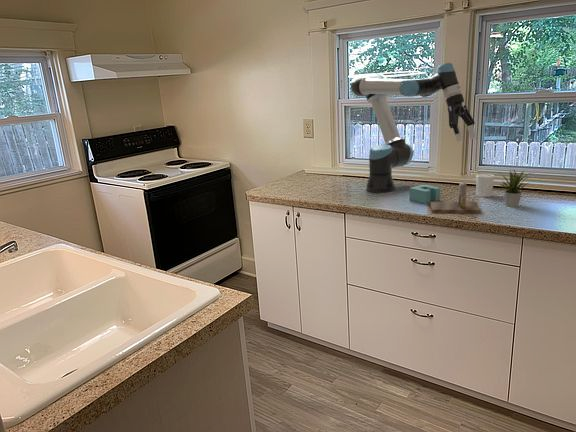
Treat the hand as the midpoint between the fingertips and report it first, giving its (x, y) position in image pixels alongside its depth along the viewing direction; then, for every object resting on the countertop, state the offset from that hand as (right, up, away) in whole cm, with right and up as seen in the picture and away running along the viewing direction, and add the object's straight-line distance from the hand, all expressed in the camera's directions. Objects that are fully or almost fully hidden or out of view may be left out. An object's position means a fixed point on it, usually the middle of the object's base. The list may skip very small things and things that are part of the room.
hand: (467, 139), depth 201 cm
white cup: (+12, -26, +11) cm, 30 cm away
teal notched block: (-17, -28, +9) cm, 34 cm away
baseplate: (-9, -32, -7) cm, 34 cm away
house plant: (+18, -31, -8) cm, 37 cm away
